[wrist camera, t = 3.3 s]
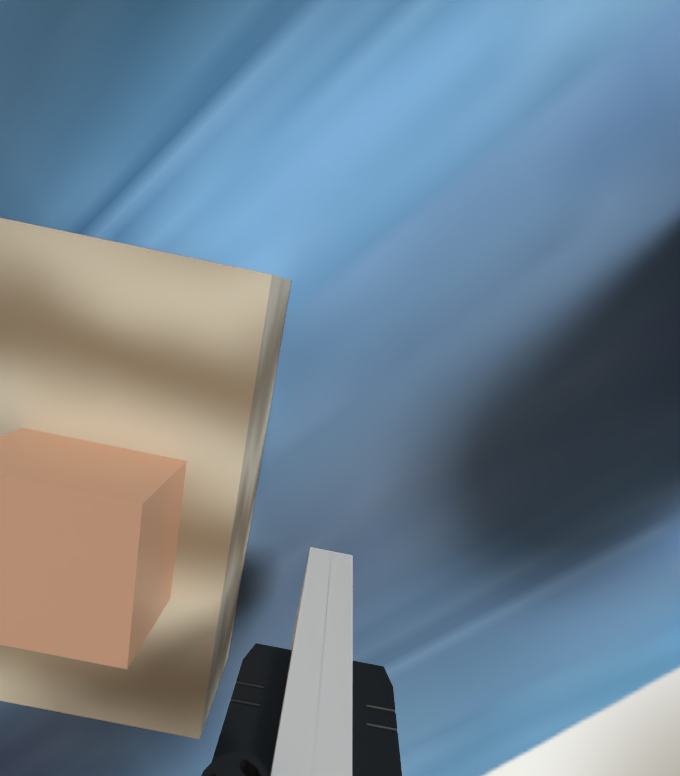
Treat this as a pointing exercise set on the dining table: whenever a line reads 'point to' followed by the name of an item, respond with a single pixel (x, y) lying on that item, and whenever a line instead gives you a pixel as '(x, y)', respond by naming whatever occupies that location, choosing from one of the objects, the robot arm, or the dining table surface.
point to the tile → (84, 545)
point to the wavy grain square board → (145, 438)
